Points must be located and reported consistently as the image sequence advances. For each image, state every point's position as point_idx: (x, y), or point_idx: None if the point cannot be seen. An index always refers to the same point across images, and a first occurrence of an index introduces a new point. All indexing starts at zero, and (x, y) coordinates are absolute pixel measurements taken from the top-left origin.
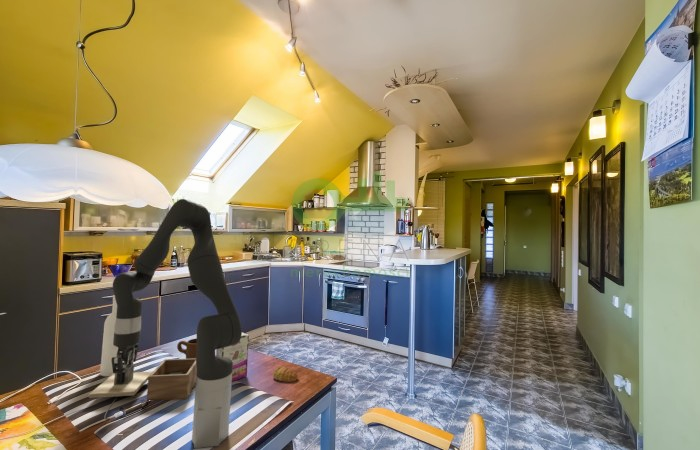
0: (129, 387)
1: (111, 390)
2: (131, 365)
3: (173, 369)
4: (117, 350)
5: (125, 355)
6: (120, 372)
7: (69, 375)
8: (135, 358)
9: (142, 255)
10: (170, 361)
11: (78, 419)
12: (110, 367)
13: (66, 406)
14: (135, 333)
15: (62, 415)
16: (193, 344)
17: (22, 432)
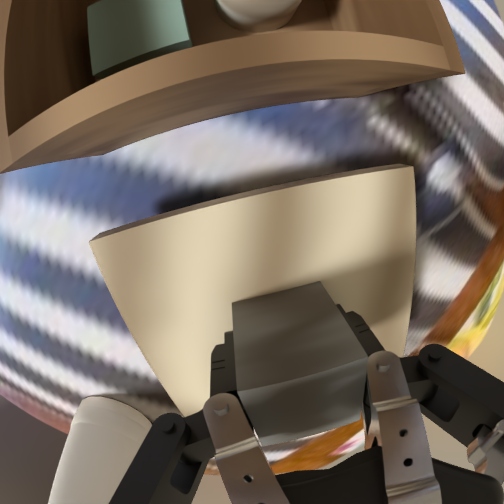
0: (365, 234)
1: (390, 307)
2: (273, 393)
3: (59, 74)
4: (111, 495)
5: (454, 483)
6: (441, 350)
7: None
8: (160, 438)
9: None
10: (14, 92)
11: (451, 288)
12: (139, 443)
13: None
14: None
15: (419, 348)
16: None
17: (459, 353)
